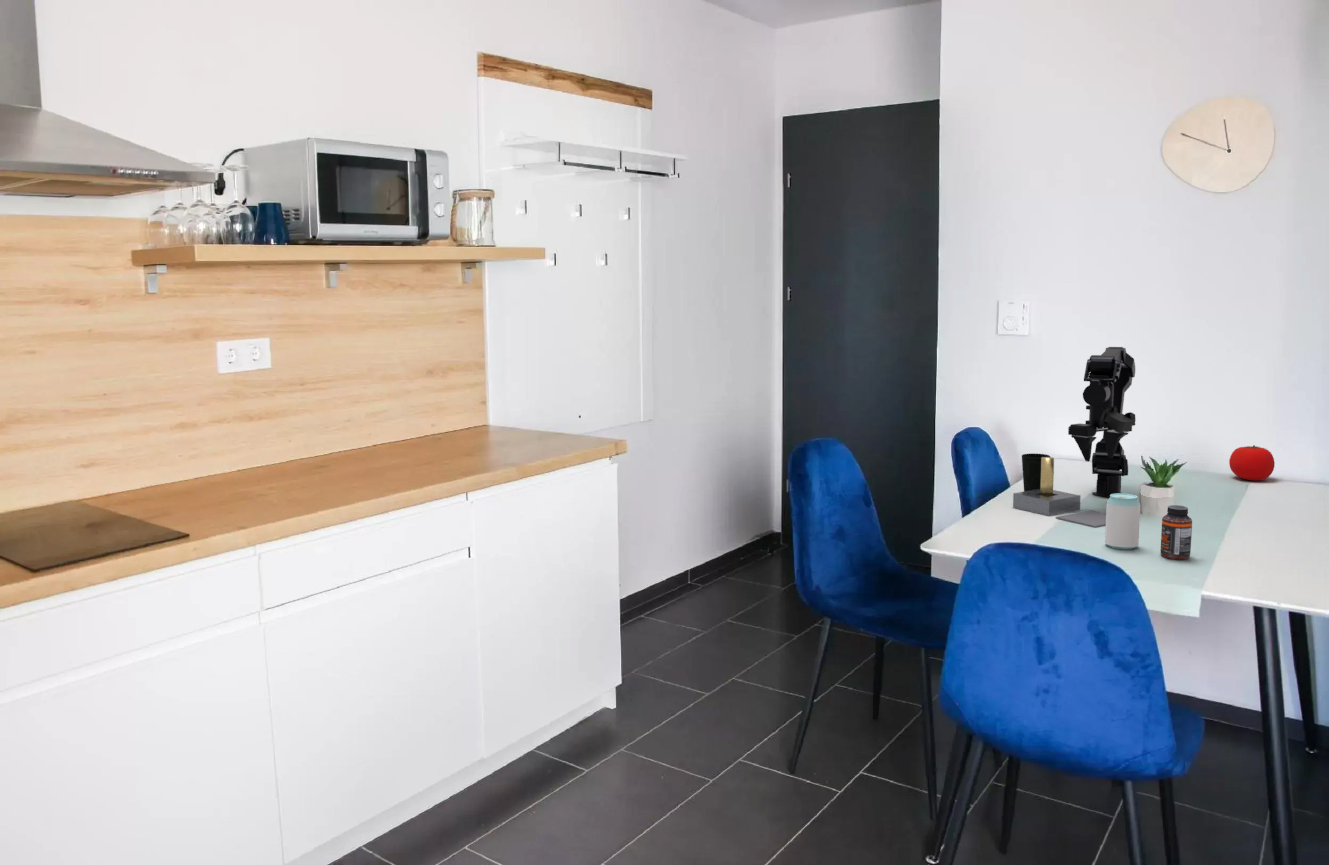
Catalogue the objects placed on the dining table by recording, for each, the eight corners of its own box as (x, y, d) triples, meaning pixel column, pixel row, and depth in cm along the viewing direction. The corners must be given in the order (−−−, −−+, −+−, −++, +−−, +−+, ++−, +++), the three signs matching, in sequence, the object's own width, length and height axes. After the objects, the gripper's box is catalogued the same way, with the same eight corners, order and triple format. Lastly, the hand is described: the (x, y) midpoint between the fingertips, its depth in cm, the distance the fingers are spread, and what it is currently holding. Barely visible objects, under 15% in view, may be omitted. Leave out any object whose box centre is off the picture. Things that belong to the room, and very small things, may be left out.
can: (1141, 550, 226) (1144, 499, 224) (1108, 549, 227) (1111, 498, 226) (1134, 543, 233) (1136, 492, 231) (1101, 542, 234) (1103, 492, 233)
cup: (1051, 500, 280) (1052, 458, 278) (1022, 499, 282) (1023, 457, 280) (1046, 494, 287) (1047, 453, 286) (1018, 494, 289) (1019, 453, 287)
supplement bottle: (1154, 553, 223) (1156, 504, 222) (1179, 552, 224) (1182, 503, 222) (1170, 560, 217) (1172, 510, 216) (1196, 559, 218) (1198, 509, 216)
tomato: (1282, 483, 296) (1284, 448, 294) (1242, 483, 296) (1244, 449, 294) (1258, 475, 307) (1260, 442, 306) (1220, 476, 308) (1222, 442, 306)
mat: (1091, 511, 265) (1091, 510, 265) (1131, 520, 254) (1132, 518, 254) (1055, 518, 258) (1055, 516, 258) (1095, 527, 248) (1095, 526, 248)
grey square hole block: (1043, 502, 278) (1044, 488, 277) (1079, 510, 267) (1080, 495, 266) (1013, 507, 272) (1013, 493, 271) (1048, 515, 261) (1049, 500, 261)
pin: (1049, 507, 271) (1050, 456, 269) (1054, 509, 268) (1056, 458, 266) (1037, 507, 271) (1039, 457, 269) (1043, 510, 268) (1044, 459, 266)
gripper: (1103, 407, 255) (1101, 467, 257) (1151, 402, 264) (1148, 460, 266) (1067, 403, 265) (1065, 461, 267) (1114, 398, 273) (1112, 454, 276)
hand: (1099, 459), depth 269 cm, fingers open, 9 cm apart
